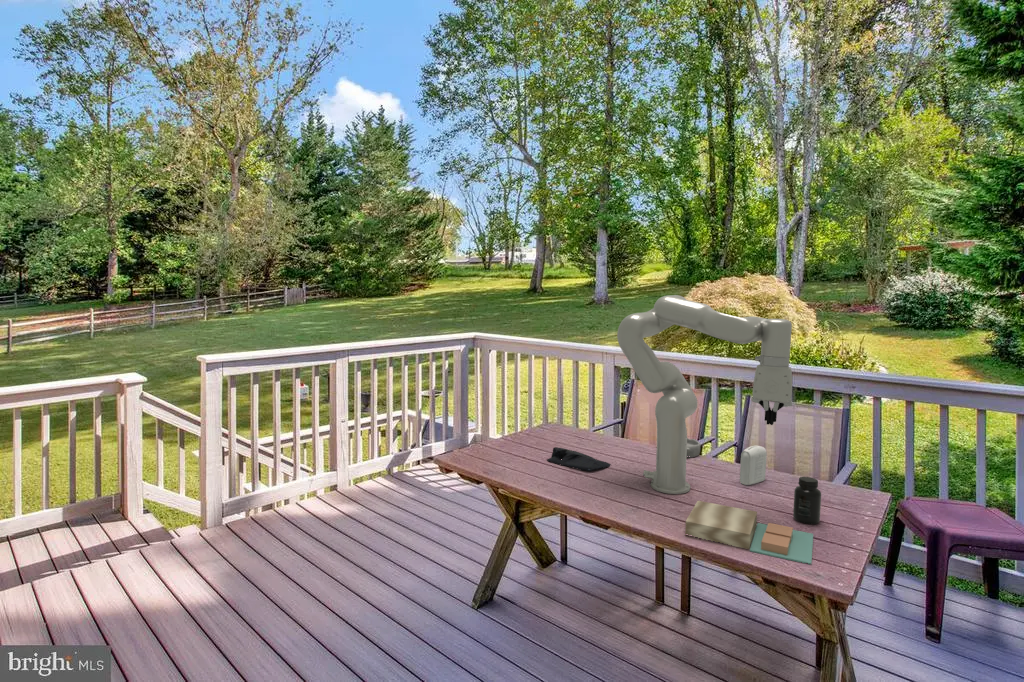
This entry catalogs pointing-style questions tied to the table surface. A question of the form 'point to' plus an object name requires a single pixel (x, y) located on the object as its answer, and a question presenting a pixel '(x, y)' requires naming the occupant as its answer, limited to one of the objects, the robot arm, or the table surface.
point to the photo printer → (753, 465)
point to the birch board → (722, 524)
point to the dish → (693, 447)
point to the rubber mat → (797, 550)
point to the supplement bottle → (807, 501)
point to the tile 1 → (780, 530)
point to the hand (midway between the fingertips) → (770, 423)
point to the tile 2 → (775, 543)
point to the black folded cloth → (576, 460)
